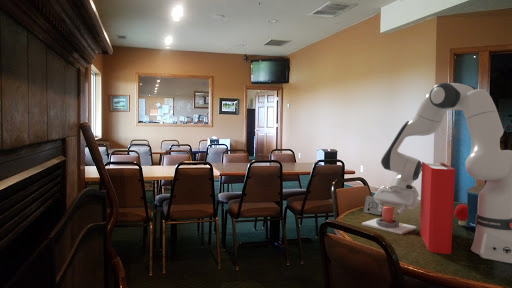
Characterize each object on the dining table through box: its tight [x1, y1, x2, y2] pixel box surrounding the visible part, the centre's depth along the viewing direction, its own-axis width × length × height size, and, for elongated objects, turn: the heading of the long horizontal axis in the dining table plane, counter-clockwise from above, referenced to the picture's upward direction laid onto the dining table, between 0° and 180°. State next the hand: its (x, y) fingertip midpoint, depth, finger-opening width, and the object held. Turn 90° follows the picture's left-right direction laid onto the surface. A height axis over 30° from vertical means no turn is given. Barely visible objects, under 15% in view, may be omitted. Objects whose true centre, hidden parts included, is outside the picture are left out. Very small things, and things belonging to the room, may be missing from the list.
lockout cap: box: [381, 205, 395, 223], centre depth 176 cm, size 5×5×8 cm
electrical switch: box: [363, 195, 384, 216], centre depth 204 cm, size 9×5×9 cm, turn 49°
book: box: [419, 161, 456, 255], centre depth 154 cm, size 27×8×32 cm, turn 163°
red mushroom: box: [453, 203, 468, 227], centre depth 180 cm, size 9×7×10 cm
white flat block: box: [361, 217, 417, 235], centre depth 177 cm, size 20×14×3 cm
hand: (389, 211), depth 177 cm, fingers open, 8 cm apart
